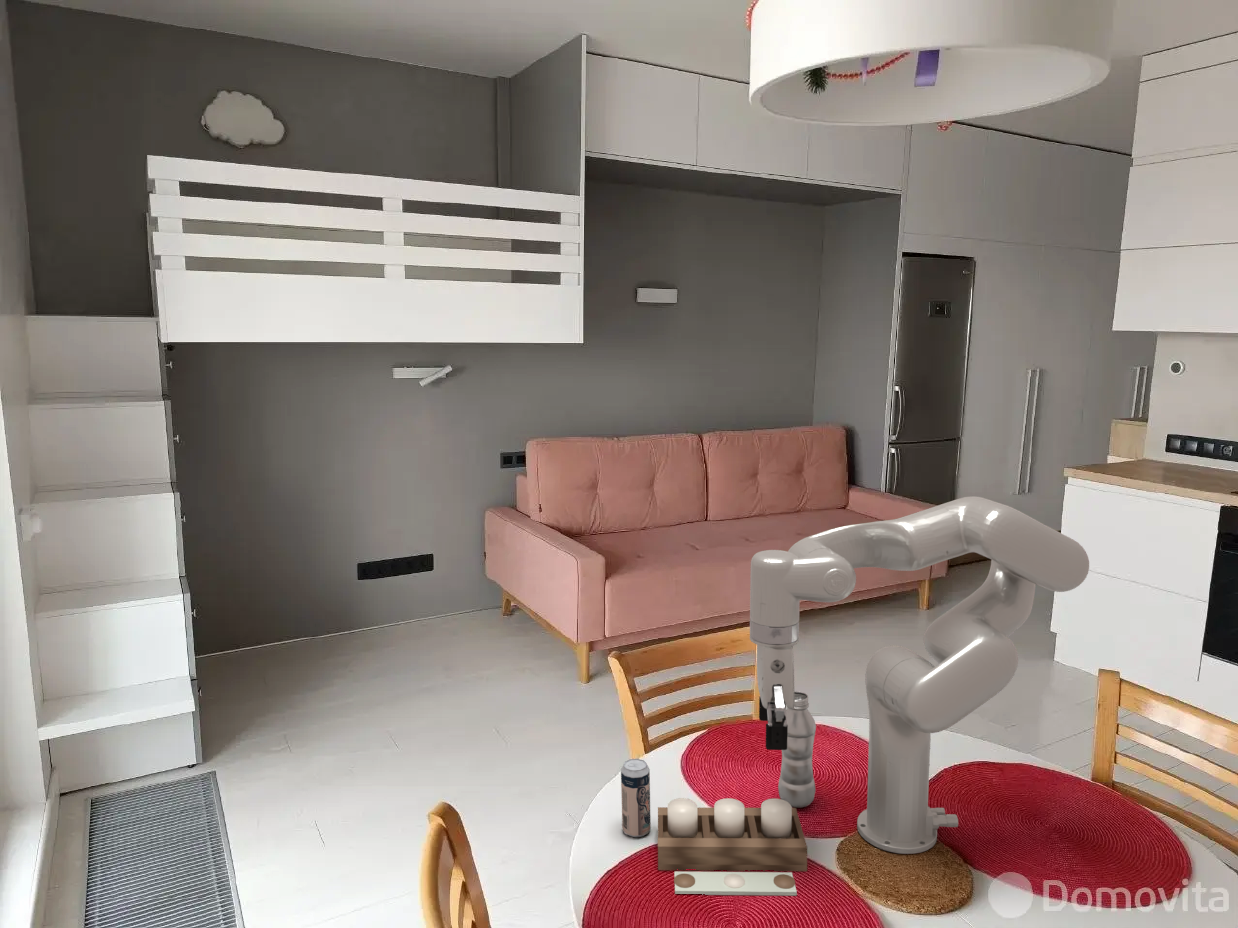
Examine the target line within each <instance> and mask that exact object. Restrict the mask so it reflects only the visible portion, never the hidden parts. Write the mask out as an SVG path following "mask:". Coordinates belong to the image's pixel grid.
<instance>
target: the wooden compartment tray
mask: <svg viewBox="0 0 1238 928" xmlns="http://www.w3.org/2000/svg"><path fill="white" fill-rule="evenodd" d="M697 814H698V833H697V835H696V836H695V837H694V838H672V837H671V836H670V835H669V834H668V806H667V807H666V806H665V807H663V806H662V807H660V806H658V807H657V865H658V866H657V870H658V871H687V870H686V869H696V870H695V871H714V870H721V871H720V872H724V871H723V870H727V871H726V872H746V871H745V870H748V871H747V872H751V871H750V870H763V871H762V872H766V871H765V870H774V871H773V872H808V845H807V841H806V838H805V835H804V832H803V827H802V824H801V822H800V817H799V814H798V810H797V807H792V830H791V836H790V837H789V838H788V839H769V838H766V837H764V836H763V835H762V833H761V807H744V836H743V837H742V838H719V837H718V836H716V834H715V832H714V807H697ZM677 869H678V870H677Z"/></svg>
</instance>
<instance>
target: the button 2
mask: <svg viewBox="0 0 1238 928" xmlns="http://www.w3.org/2000/svg"><path fill="white" fill-rule="evenodd" d="M760 808H761V833H762V835H763V836H764V837H766V838H769V839H788V838H789V837H790V836H791V830H792V808H793V807H791V805H790V804H789V803H788V802H787V801H785V800H782V799H781V798H768V799H766V800H764V801H763V802H761V805H760Z"/></svg>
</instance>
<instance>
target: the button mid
mask: <svg viewBox="0 0 1238 928" xmlns="http://www.w3.org/2000/svg"><path fill="white" fill-rule="evenodd" d="M713 805H714V806H713V808H714V832H715V834H716V836H718V837H719V838H742V837H743V836H744V808H745V804H744V803H743V802H742V801H740V800H738V799H735V798H732V797H731V798H728V797H727V798H721V799H717V801H716V802H715V803H714V804H713Z"/></svg>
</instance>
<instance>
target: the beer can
mask: <svg viewBox="0 0 1238 928" xmlns="http://www.w3.org/2000/svg"><path fill="white" fill-rule="evenodd" d="M650 770H651V769H650V767H649V766H648V763H647V762H646V761H645V760H644V759H640V758H630V759H628V760H626V761H624V762H623V765H622V767H621V768H620V780H621V781H620V783H621V785H620V786H621V787H620V788H621V789H620V790H621V793H620V794H621V826H622V827H621V828H622V831H623V833H624V834H625V835H628V836H629V837H632V838H641V837H644V836H645V835H647V834H648V833H650V831H651V830H652V829H651V828H652V827H651V826H652V825H651V781H650V777H651V776H650V774H651V773H650Z"/></svg>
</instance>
